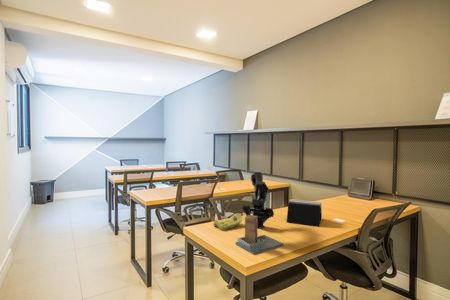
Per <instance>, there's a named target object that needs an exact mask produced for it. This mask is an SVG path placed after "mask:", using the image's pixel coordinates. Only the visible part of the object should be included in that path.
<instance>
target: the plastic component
mask: <svg viewBox="0 0 450 300" xmlns="http://www.w3.org/2000/svg"><path fill="white" fill-rule="evenodd" d="M242 216H243V215H241V214H240V213H235V215H233V216H230V218H228V219H225V220H221V221H218V219H214V221H213V226H214V227H217V228H218V229H219V230H221V231H225V230H228V229H229V230H230V229H232V228H234V227H236V226H237V225H240V223H242V221H243V217H242Z"/></svg>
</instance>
